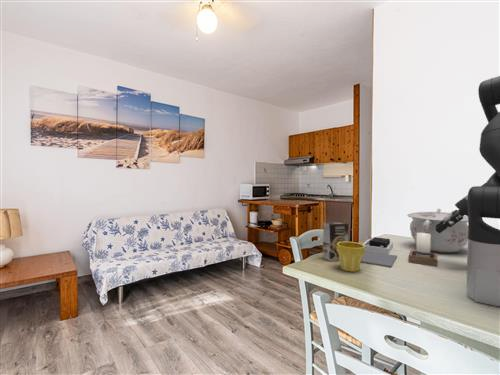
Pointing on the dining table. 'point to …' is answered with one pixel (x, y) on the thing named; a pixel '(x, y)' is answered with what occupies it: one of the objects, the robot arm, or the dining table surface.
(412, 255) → the walnut collar
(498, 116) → the robot arm
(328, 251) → the coffee box
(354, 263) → the plant pot
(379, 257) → the charcoal mat
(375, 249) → the grey organizer frame
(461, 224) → the chamber pot
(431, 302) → the dining table surface
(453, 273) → the dining table surface
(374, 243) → the electronic device
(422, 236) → the white capsule dome
